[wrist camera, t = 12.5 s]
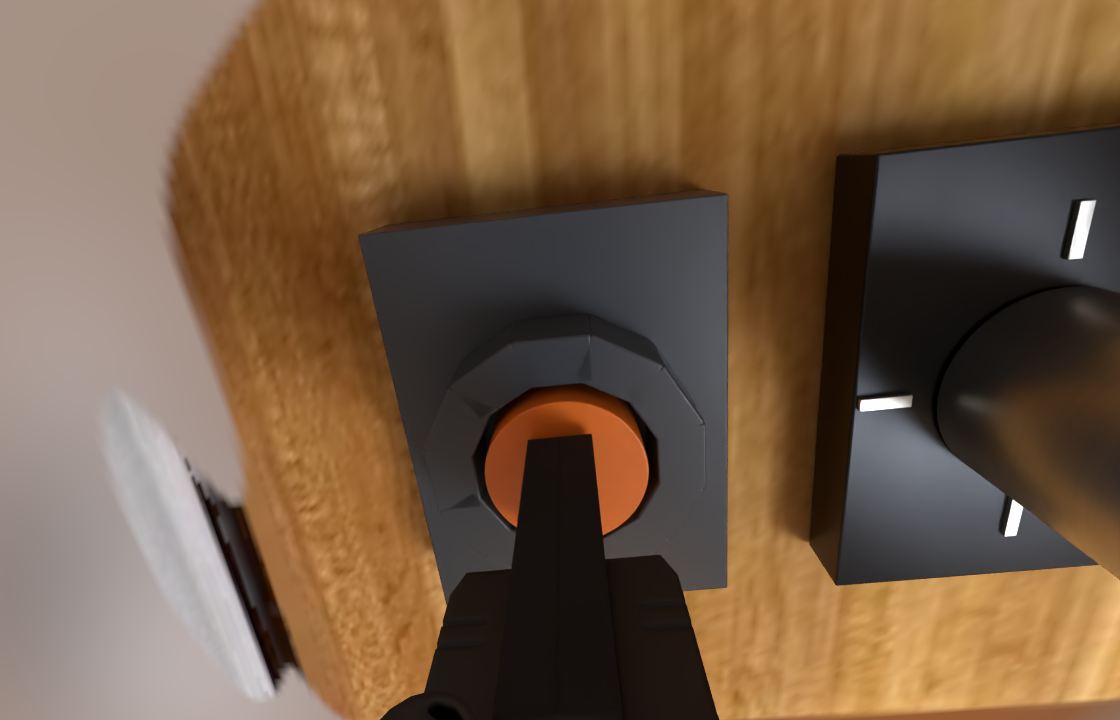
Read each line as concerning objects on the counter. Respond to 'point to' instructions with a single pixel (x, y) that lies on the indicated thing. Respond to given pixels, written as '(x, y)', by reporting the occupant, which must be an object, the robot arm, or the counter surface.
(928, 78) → the counter surface
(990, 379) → the knob
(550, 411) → the button
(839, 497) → the dial panel
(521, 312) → the button block
